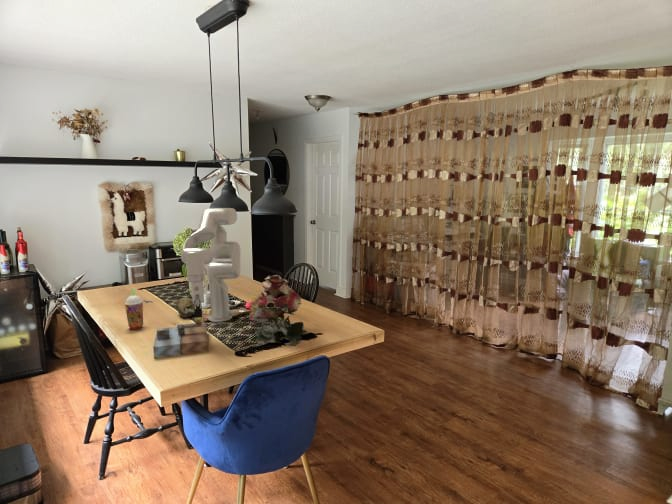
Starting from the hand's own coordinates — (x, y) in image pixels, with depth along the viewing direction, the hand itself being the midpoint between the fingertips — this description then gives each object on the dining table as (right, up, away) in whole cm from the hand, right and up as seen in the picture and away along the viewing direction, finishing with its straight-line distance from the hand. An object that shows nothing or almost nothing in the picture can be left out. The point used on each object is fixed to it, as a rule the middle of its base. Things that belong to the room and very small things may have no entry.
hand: (198, 314), depth 192 cm
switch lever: (-4, -6, 0) cm, 7 cm away
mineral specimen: (-19, -7, +43) cm, 48 cm away
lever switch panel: (-7, -14, 0) cm, 16 cm away
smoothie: (-40, -11, +24) cm, 48 cm away
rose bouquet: (+34, -12, +11) cm, 38 cm away
